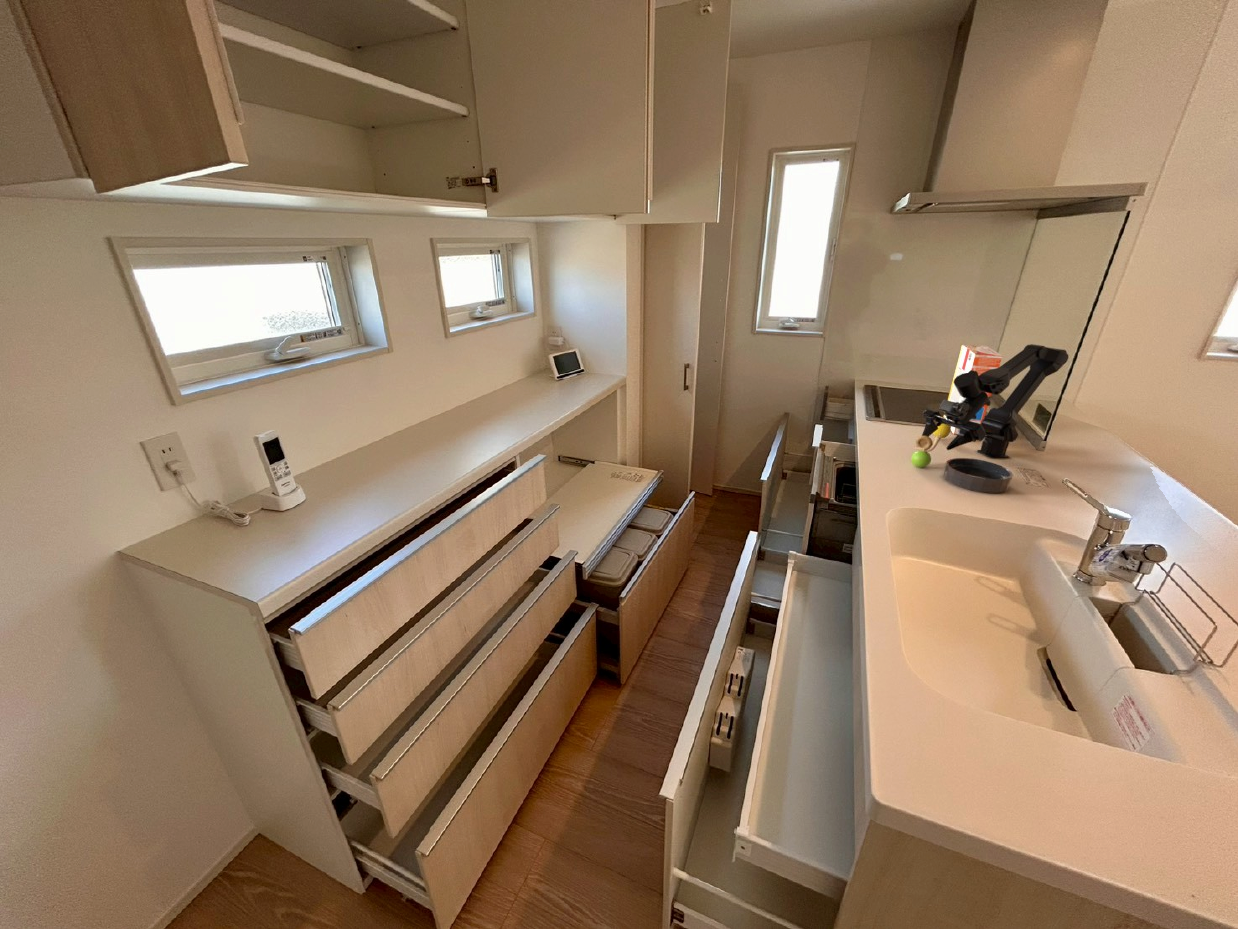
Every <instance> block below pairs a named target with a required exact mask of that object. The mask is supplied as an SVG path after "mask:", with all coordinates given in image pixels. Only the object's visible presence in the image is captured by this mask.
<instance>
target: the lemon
mask: <svg viewBox="0 0 1238 929" xmlns="http://www.w3.org/2000/svg"><path fill="white" fill-rule="evenodd" d="M951 432H952V431H951V426H948V425H945V424H941V425H940V426H938V429H937V430H936V431H935V432H934V433H932V435H933V436H934V438H935V437H937V436H938V437H940V440H942V439H945V438H947V437H948V436H949V435H950V433H951ZM940 433H941V435H939V434H940Z"/></svg>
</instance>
